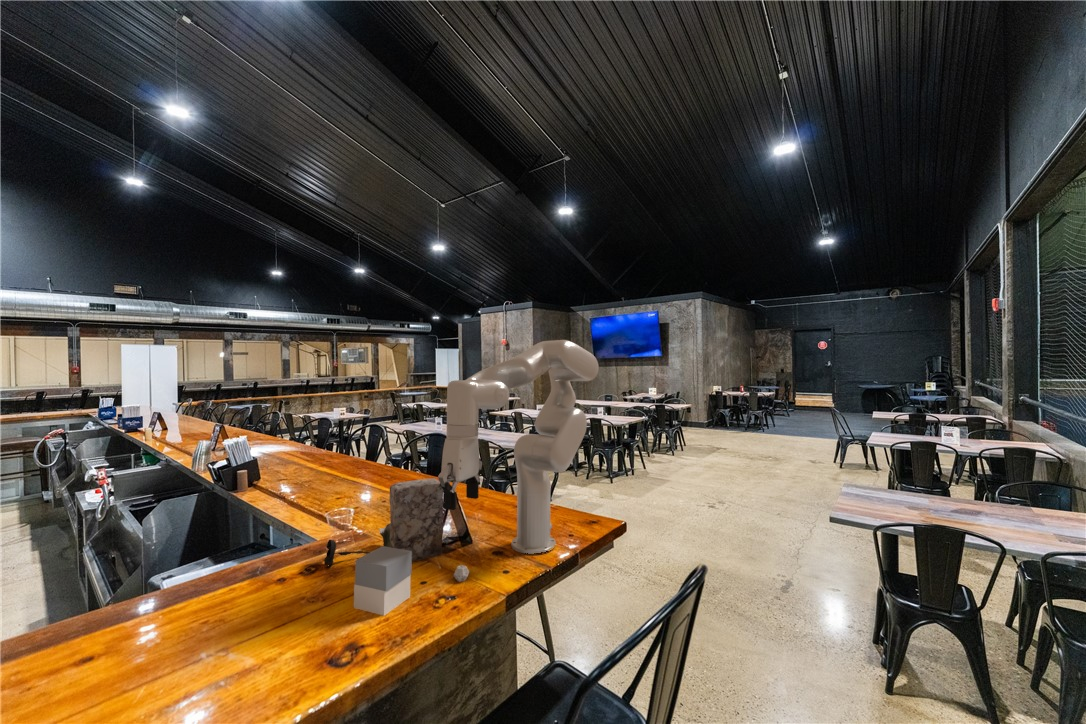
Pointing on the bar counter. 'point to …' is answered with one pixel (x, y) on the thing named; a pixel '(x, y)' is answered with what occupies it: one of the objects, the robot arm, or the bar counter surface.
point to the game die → (461, 573)
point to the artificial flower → (332, 548)
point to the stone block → (417, 517)
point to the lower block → (381, 597)
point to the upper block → (383, 568)
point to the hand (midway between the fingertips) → (461, 503)
